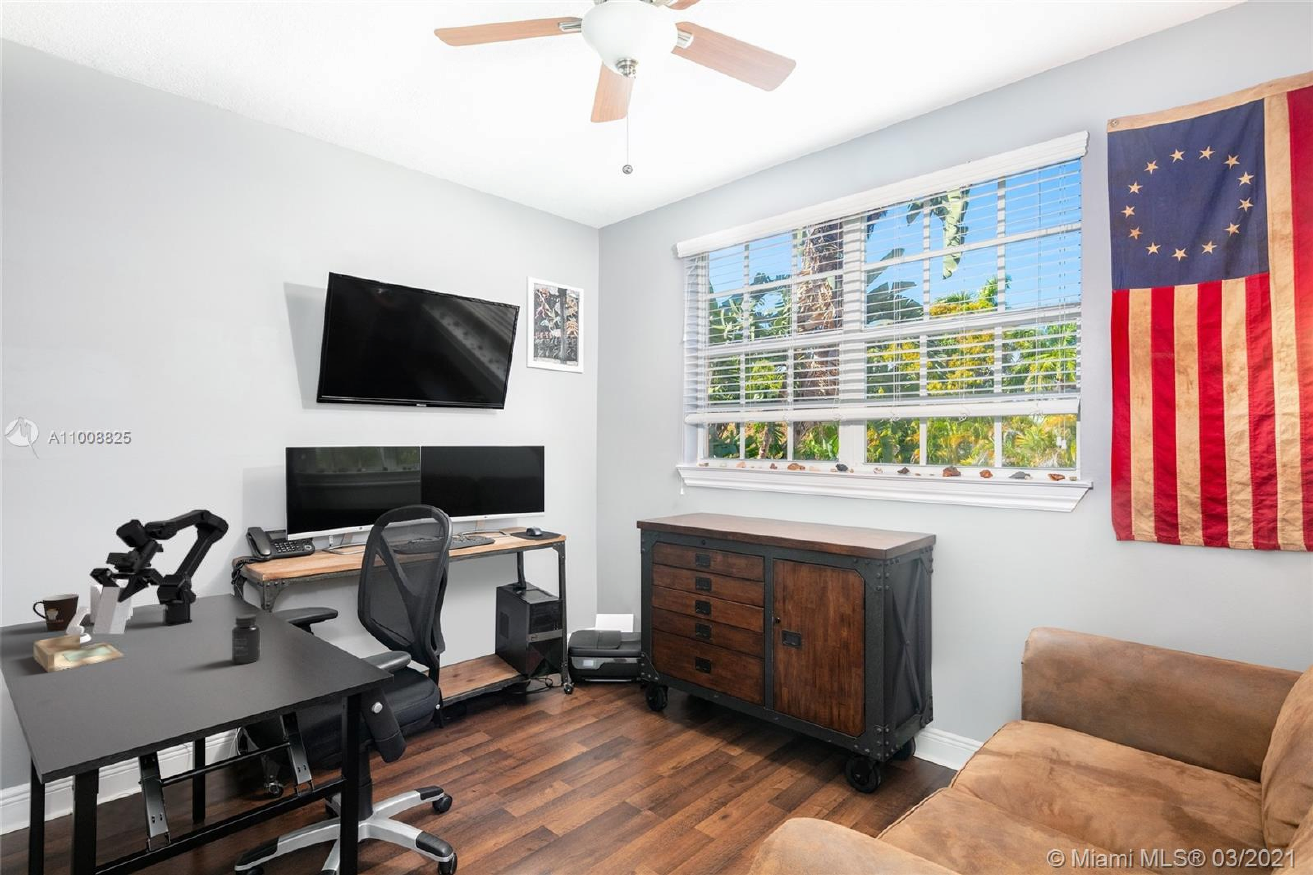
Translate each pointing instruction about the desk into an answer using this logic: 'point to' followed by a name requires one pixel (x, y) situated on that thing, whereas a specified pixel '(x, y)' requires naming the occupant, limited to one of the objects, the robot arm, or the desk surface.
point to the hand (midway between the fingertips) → (110, 601)
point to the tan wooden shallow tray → (71, 653)
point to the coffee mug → (58, 611)
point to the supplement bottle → (246, 640)
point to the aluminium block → (111, 612)
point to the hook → (74, 625)
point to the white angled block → (95, 599)
